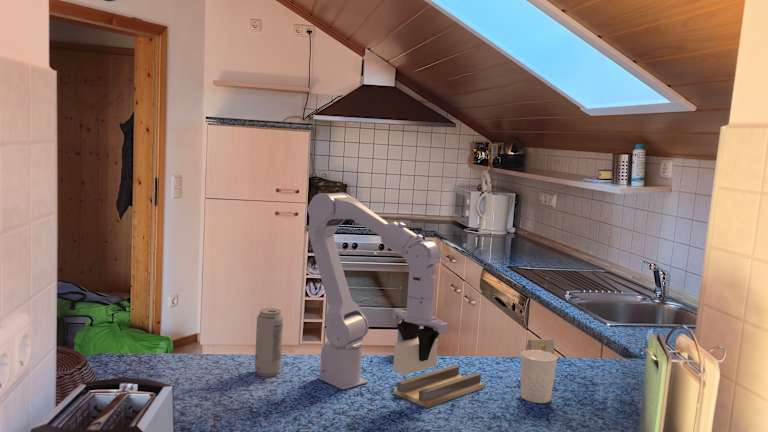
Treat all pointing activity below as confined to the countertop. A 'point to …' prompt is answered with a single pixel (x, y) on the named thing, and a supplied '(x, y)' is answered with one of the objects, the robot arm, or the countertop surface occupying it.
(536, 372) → the white cup
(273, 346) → the energy drink can
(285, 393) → the countertop surface
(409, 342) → the cream rectangular block
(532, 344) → the white red printed box
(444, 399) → the sliding track
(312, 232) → the robot arm
